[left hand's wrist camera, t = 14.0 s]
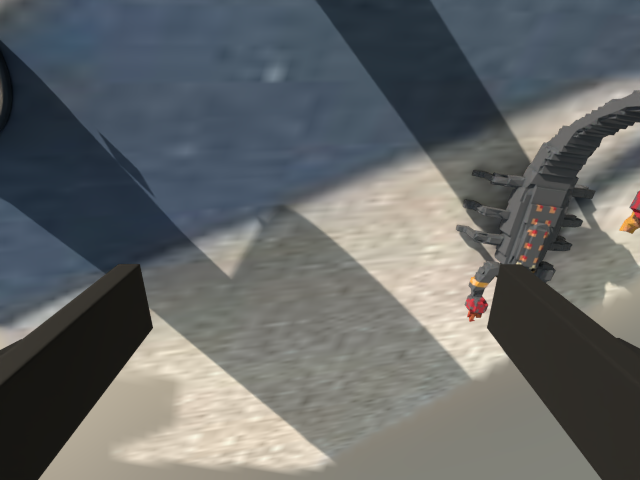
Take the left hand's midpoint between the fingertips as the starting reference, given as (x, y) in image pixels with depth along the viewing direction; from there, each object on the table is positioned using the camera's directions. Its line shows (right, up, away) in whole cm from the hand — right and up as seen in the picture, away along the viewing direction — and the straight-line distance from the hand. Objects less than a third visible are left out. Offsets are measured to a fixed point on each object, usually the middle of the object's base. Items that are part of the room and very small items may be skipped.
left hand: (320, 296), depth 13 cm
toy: (+23, +5, +29) cm, 37 cm away
